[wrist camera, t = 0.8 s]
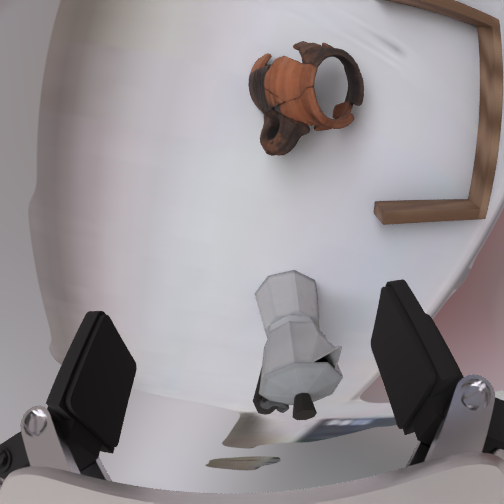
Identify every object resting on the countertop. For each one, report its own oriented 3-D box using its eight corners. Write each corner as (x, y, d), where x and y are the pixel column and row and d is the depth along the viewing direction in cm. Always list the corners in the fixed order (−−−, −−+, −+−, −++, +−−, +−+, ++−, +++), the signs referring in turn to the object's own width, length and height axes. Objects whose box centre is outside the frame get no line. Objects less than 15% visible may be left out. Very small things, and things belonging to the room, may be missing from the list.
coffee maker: (286, 247, 37) (310, 373, 21) (340, 275, 39) (382, 390, 24) (228, 323, 43) (223, 438, 28) (279, 342, 46) (289, 449, 31)
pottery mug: (261, 30, 24) (319, 17, 18) (323, 73, 30) (382, 76, 24) (214, 135, 27) (264, 148, 21) (286, 165, 33) (341, 185, 27)
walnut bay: (371, -14, 20) (382, -21, 17) (484, 20, 19) (498, 19, 17) (373, 212, 34) (383, 224, 32) (473, 209, 34) (485, 219, 31)
